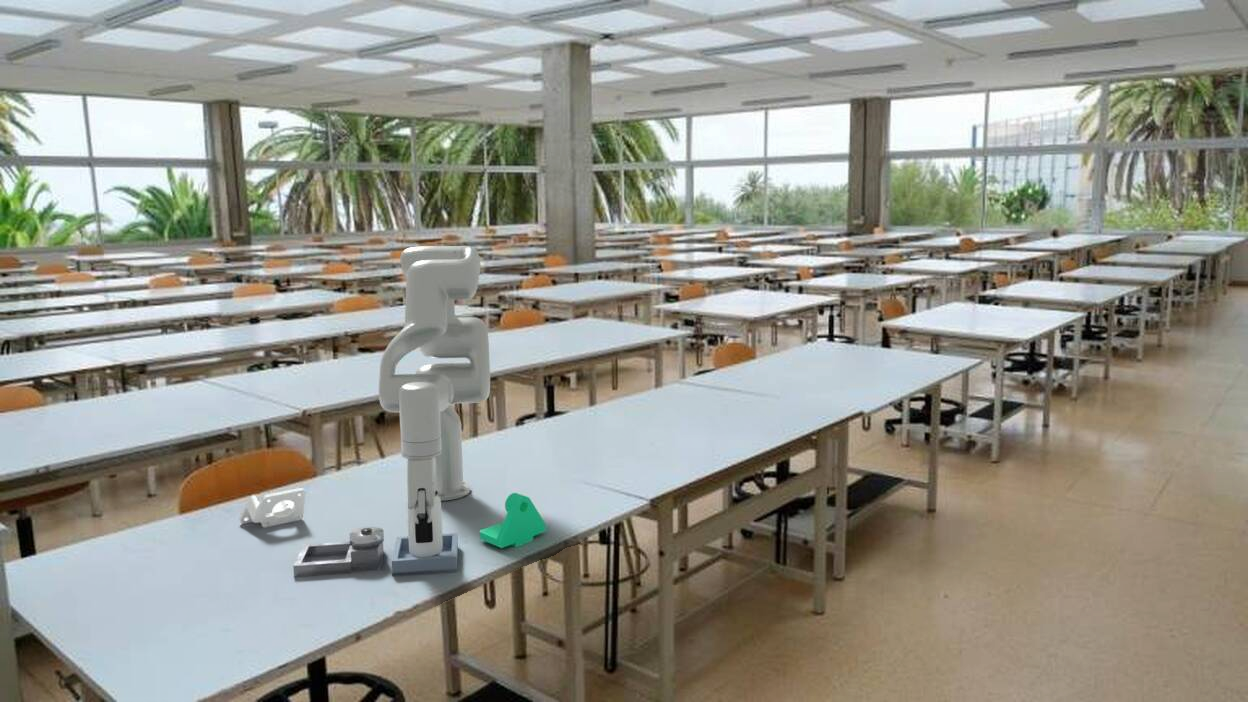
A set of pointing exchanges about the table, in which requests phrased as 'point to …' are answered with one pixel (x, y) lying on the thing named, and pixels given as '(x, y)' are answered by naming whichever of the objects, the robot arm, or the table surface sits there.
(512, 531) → the camera mount
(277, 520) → the mounting bracket
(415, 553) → the can
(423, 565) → the tray
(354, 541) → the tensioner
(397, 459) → the table surface
